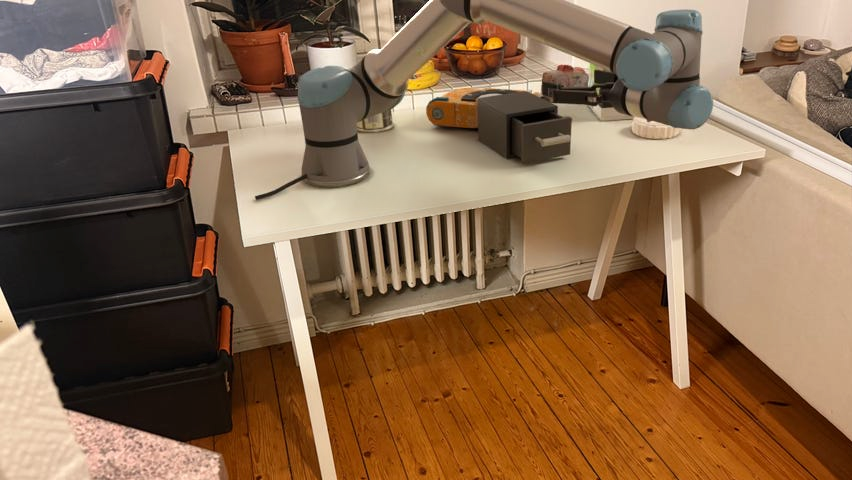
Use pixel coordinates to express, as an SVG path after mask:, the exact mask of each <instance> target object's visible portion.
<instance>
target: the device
mask: <svg viewBox="0 0 852 480" xmlns="http://www.w3.org/2000/svg"><path fill="white" fill-rule="evenodd" d="M522 91H525V90H522V89H508V88H506V89H505V88H494V87H493V88H492V87H485V88H469V87H468V88H466V87H464V88H457V89H453V90H450V91H449V92H447V93H444V94H442V95H441V96H437V97H434V98H433V99H431V100H430V101H428V103H427V105H426V108H425V110H426V111H425V113H426V116H427V118H428V121H429V122H430V123H432V125H433V126H436V127H440V128H450V127H453V128H464V129H465V128H467V129H478V103H477V98H482V97H489V96H496V95H502V94H509V93H515V92H522ZM526 91H527V92H529V93H531V94H533V95H536V96H538V97H540V98H542V99H544V100H546V101H548V102H550V100H549V98H547V97H544V96H543V95H542V94H541V93H539V92H537V91H534V93H533V90H532V89H527V90H526ZM550 103H551V102H550Z"/></svg>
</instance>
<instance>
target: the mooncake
mask: <svg viewBox="0 0 852 480" xmlns="http://www.w3.org/2000/svg"><path fill="white" fill-rule="evenodd" d="M680 129H681V128H674V127H671V126H669V125H665V124H662V123H658V122H655V121H651V122H647V120H646V119H642V118H638V117H635V118H634V119H632V123H631V131H632V133H633V134H634V135H636V136H638V137H641V138H643V139H644V138H646V139H649V140H651V139H654V140H665V139H671V138H674V137H676V136H678V135H679V133H680Z"/></svg>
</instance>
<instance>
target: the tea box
mask: <svg viewBox="0 0 852 480" xmlns="http://www.w3.org/2000/svg"><path fill="white" fill-rule="evenodd" d="M594 70H602V71H607V72H611V71H608V70H606V69H603V68H601V67H598V66H596V65H594V64H591V63H589V75H588V76H589V82H588V85H589V86H588V87H592V85H594V84H597V83H594ZM617 75H618V74H617ZM596 92H597V94H599V88H596ZM589 108H590V109H591V110H592V112H593V113H594V114H595V115H596V116H597V118H598V119H599V120H600V122H606V121H607V122H609V121H621V120H622V121H623V120H633V119H634V118H635V117H634V116H629V115H625V114H621V113H618V112H617V111H616V110H615V109H614V107H613V106H612V104H605V103H598V105H597V106H589Z"/></svg>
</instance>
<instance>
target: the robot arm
mask: <svg viewBox="0 0 852 480" xmlns="http://www.w3.org/2000/svg"><path fill="white" fill-rule="evenodd" d="M486 22H489V23H491V24H493V25H495V26H496V25H497V26H499V27H501V28H504V29H506V30H509V31H510V32H513V33H516V34H519V35H521V36H522V37H526V38H527V39H530V40H532V41H535V42H538V43H540V44H542V45H544V46H547V47H550V48H551V49H555V50H557V51H559V52H562V53H565V54H566V55H570V56H572V57H575V58H576V59H579V60H581V61H584V62H586V63H589V64H590V63H591V64H594V65H596V66H598V67H601V68H603V69H606V70H608V71H611V72H607V71H602V70H594V83H597V84H594V85H592V87H589V86H588V87H564V85H561V84H555V83H550V82H546V81H544V82H542V81H541V85H542V91H543V95H544V96H548V97H552V100H553V102H552V103H553V104H560V105H561V104H562V105H579V106H581V105H582V106H589V107H590V106H597V105H598V103H605V104H612V106H613V107H614V109H615V110H616V111H617V112H618V113H621V114H625V115H629V116H634V117H638V118H642V119H646V120H647V122H651V121H655V122H658V123H662V124H665V125H669V126H671V127H674V128H680V129H682V130H691V131H692V130H697V129H699V128H701V127H702V126H703V125H705V124H706V123H707V121H708V120H709V119H710V117H711V115H712V113H713V112H712V111H713V110H714V98H713V96H712V93H711V91H710V90H709V89H708V88H707V87H705V86H702V85H701V77H700V73H701V72H700V71H701V56H702V55H701V54H702V36H703V34H704V31H703V19H702V13H701V12H700V11H698V10H696V9H673V10H672V9H671V10H665V11H662V12H660V13H658V14H657V16H656V17H655V27H654V32H653V33H650V32H648V31H645V30H642V29H640V28H637V27H634V26H631V25H630V24H628V23H625V22H622V21H619V20H617V19H615V18H612V17H609V16H606V15H603V14H601V13H598V12H596V11H593V10H590V9H589V8H585V7H583V6H581V5H578V4H576V3H573V2H570V1H567V0H429V1H427V3H426V4H424V6H423V7H421V9H419V10H418V12H416V13H415V15H414V16H413V17H411V18H410V20H409V21H408V22H407V23H406V24H405V25H404V26H403V27H401V29H400V30H399V31H398V32H396V34H395V35H394V36H393V37H392V38H391V39H390V40H389V41H388V42H387V43H386V44H385V45H384V46H383V47H382V48H381V49H379V48H375V49H372V50H369V51H368V52H367V53H366V54H365V55H364V56H363V57H362V58H361V59H360V60H359V61H358V63H357V64H355V65H354V66H351V67H349V68H348V67H346V66H342V65H325V66H323V67H316V68H312V69H310V70H309V71H306V72H305V73H302V75H301V76H300V77H299V78H298V80H297V83H296V86H297V102H298V106H299V112H300V117H301V123H302V131H303V136H304V144H305V147H304V152H303V158H302V164H301V176H298V177H296V178H295V179H293V180H290V181H288V182H287V183H285V184H283V185H282V186H279V187H278V188H276V189H274V190H271V191H268V192H265V193H261V194H258V195H254V199H255V200H256V201H258V200H262V199H266V198H269V197H272V196H275V195H276V194H279V193H281V192H283V191H284V190H286V189H288V188H290V187H292V186H294V185H296V184H298V183H300V182H302V181H303V182H304V183H305V184H307V185H309V186H311V187H316V188H327V189H329V188H342V187H347V186H351V185H356V184H358V183H360V182H363V181H364V180H366V179H367V178H368V177H369V176H370V174H371V168H370V163H369V160H368V157H366V154H365V152H364V150H363V147H362V145H361V143H360V141H359V131H358V130H357V122H360V121H362V120H364V119H367V118H370V117H372V116H375V115H377V114H380V113H384V112H386V111H389V110H391V111H392V110H393V109H394V108H396V107H397V106H398V105H399V104H400V103H401V102H402V100H403V99H404V97H405V94H406V91H407V90H408V88H409V79H411V78H412V77H413V76H414V75H415V74H416V73H418V71H420V69H421V68H423V67H424V66H425V65H426V64H427V63H428V62H429V61H430V60H432V59H433V58H434V56H435V55H437V54H438V53H439V52H440V51H441V50H442V49H443V48H444V47H446V46H447V45H448V44H449V43H450V42H451V41H452V40H453V39H454V38H455V37H456V36H458V35H459V34H460V33H461V32H462V31H463V30H464V29H465V28H466V27H467V26H469V25H470V24H476V25H482V24H484V23H486ZM617 74H618V75H617ZM596 88H599V94H597V92H596Z"/></svg>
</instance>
